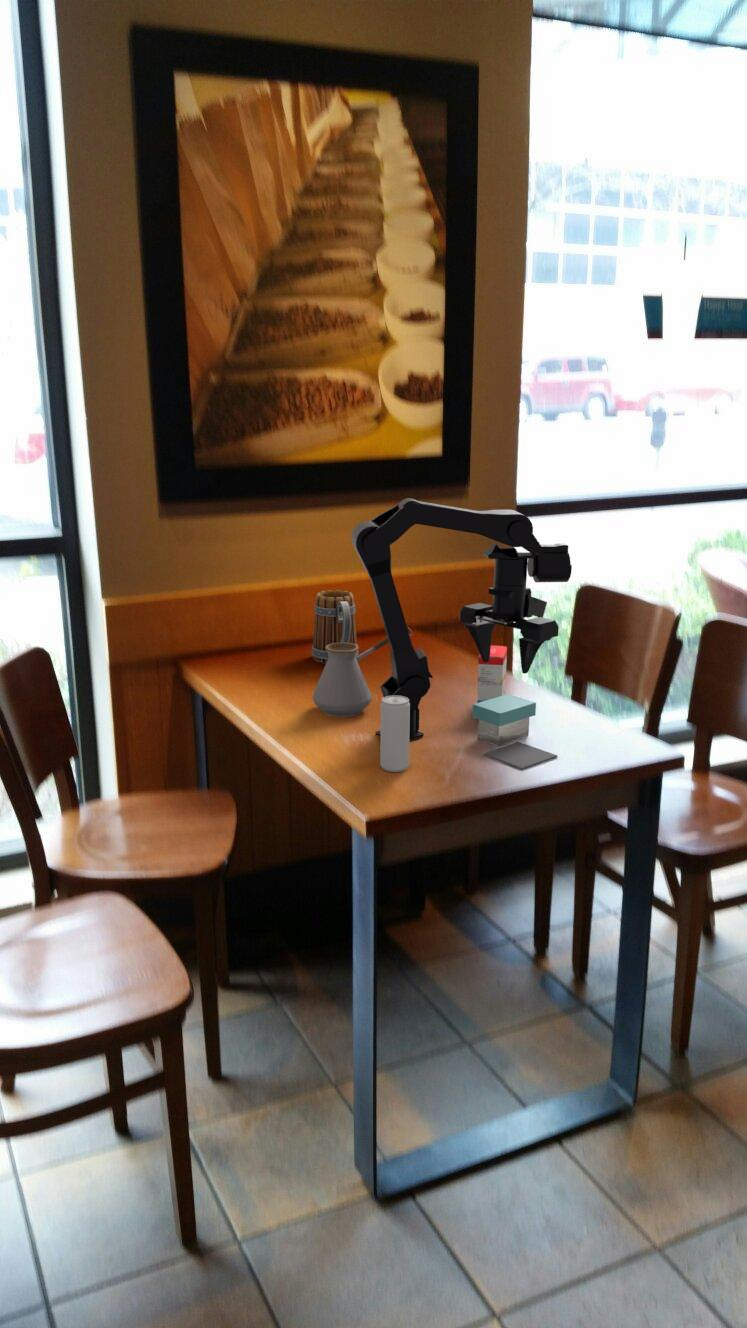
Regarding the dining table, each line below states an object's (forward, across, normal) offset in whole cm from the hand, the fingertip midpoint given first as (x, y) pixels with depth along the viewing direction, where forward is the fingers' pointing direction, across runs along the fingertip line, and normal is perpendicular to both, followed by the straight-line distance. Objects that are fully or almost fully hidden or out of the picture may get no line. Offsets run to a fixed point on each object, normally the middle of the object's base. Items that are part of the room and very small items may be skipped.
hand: (505, 667), depth 196 cm
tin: (+12, -2, +2) cm, 13 cm away
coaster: (+12, -11, +8) cm, 18 cm away
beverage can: (+13, 0, +27) cm, 30 cm away
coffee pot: (+13, +28, +9) cm, 32 cm away
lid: (+7, -2, +2) cm, 8 cm away
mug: (+13, +55, -8) cm, 57 cm away
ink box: (+12, +10, -8) cm, 18 cm away
